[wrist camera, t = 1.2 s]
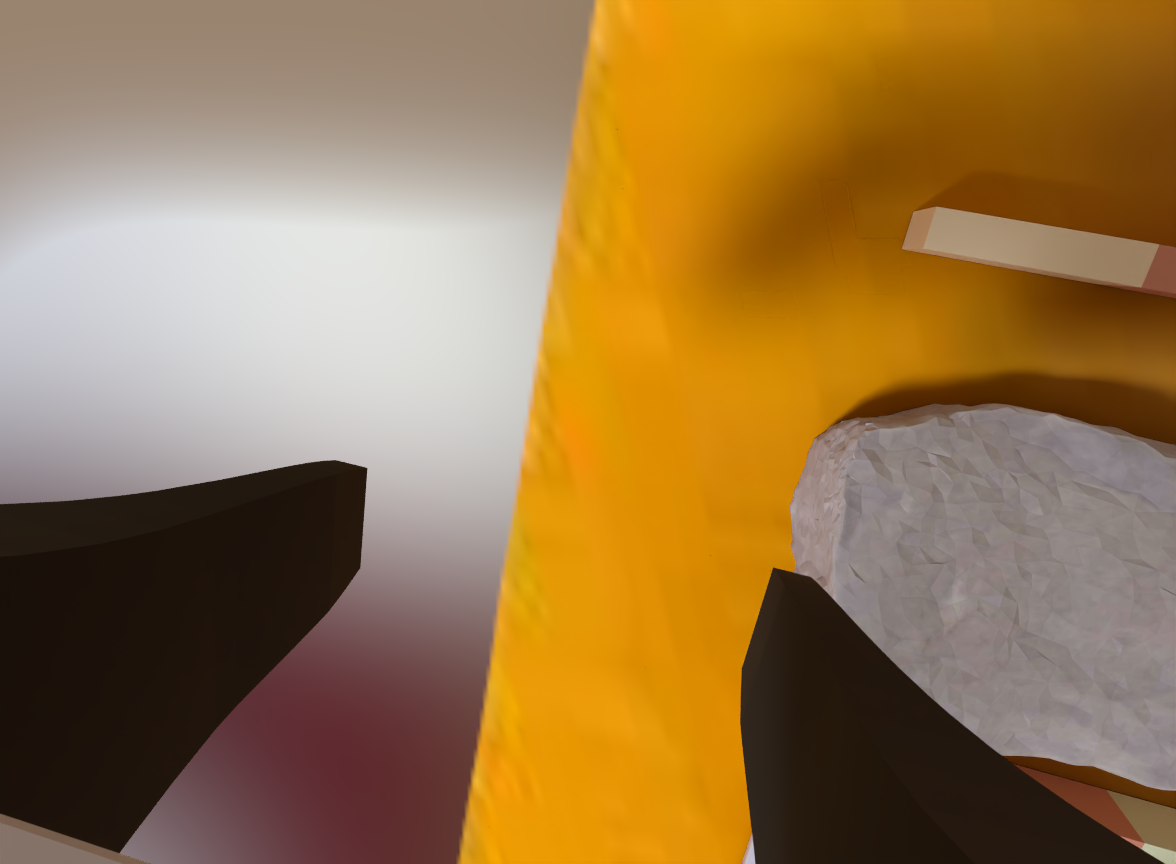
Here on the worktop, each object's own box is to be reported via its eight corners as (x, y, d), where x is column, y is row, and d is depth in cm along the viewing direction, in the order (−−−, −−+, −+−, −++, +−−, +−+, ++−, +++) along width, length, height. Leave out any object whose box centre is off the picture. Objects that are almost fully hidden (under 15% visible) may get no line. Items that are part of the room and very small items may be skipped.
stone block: (791, 393, 21) (768, 685, 22) (821, 394, 17) (791, 765, 17) (1193, 414, 20) (1155, 730, 21) (1354, 422, 15) (1297, 833, 16)
